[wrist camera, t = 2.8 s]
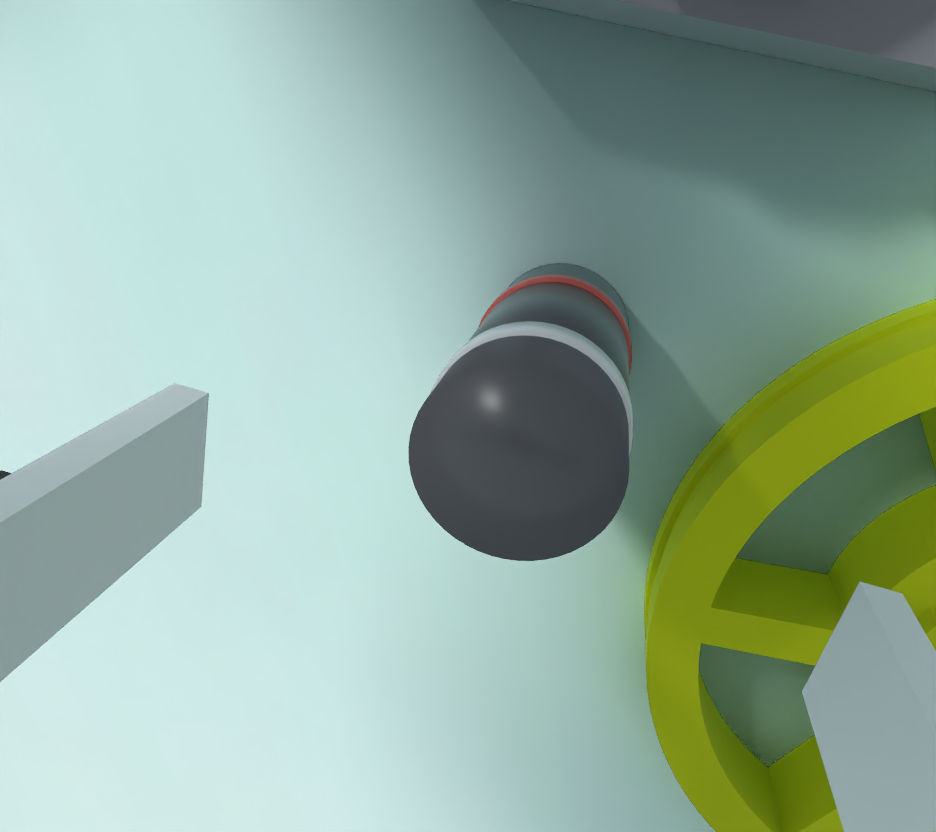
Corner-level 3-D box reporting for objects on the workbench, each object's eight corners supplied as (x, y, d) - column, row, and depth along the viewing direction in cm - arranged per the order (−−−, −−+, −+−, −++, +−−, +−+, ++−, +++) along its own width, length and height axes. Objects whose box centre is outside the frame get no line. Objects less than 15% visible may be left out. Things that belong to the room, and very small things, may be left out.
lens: (477, 376, 29) (388, 528, 18) (507, 245, 27) (426, 328, 16) (608, 412, 29) (596, 590, 18) (649, 280, 26) (665, 391, 16)
